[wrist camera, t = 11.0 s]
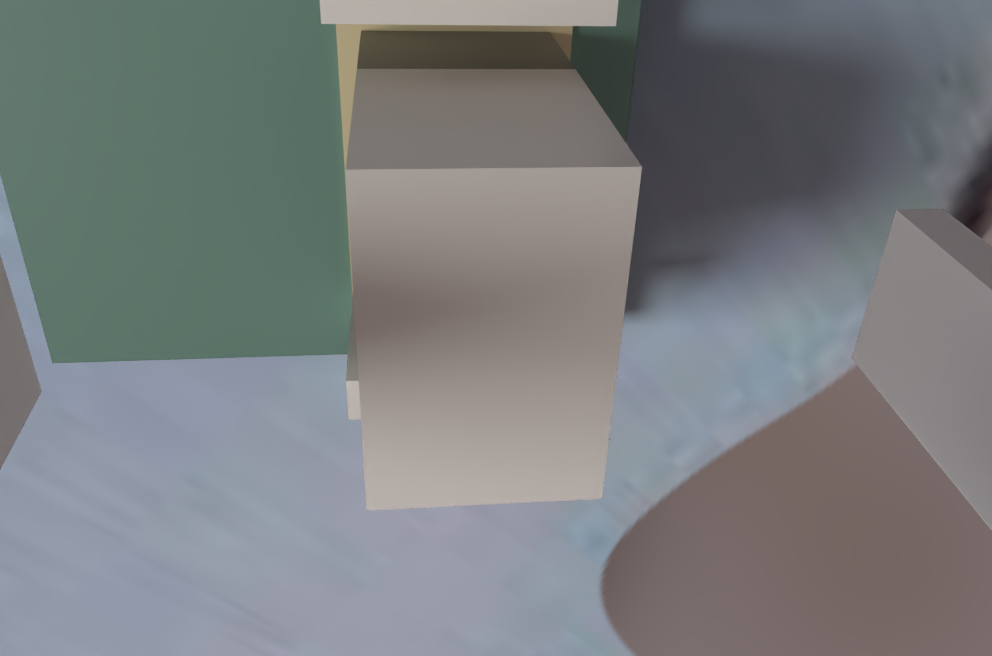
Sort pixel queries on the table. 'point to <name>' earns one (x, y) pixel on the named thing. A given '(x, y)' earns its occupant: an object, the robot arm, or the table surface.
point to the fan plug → (485, 268)
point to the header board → (218, 161)
